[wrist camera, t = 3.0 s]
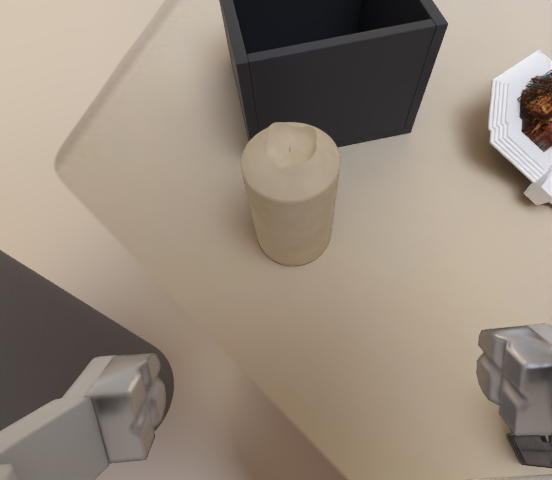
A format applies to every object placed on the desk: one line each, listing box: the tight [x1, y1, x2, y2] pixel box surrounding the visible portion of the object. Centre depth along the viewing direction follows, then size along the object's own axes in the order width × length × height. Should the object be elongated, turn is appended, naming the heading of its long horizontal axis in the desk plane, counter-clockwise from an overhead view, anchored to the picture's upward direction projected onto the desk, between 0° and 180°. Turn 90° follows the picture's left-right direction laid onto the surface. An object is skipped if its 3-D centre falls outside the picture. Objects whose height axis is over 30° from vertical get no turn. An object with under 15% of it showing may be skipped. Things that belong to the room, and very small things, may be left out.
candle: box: [241, 122, 340, 266], centre depth 24 cm, size 6×6×10 cm
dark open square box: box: [219, 0, 448, 147], centre depth 31 cm, size 14×14×10 cm
